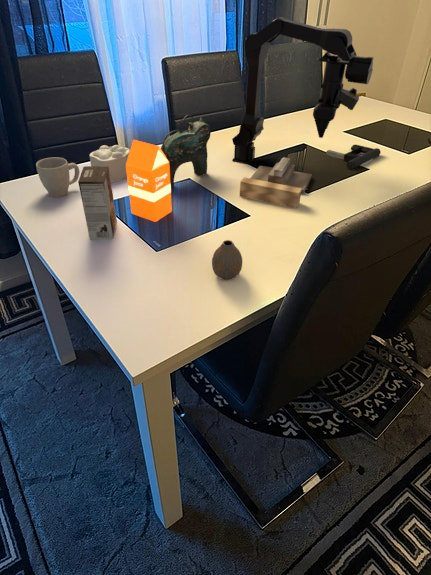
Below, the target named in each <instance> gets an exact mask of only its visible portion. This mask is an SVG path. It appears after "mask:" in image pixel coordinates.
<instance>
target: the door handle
mask: <svg viewBox="0 0 431 575" xmlns="http://www.w3.org/2000/svg"><path fill="white" fill-rule="evenodd" d="M350 150H351V151H349V152H347V153H343V152H340V151H335V150H331V149H328V150H326V152H325V155H327V156H330V157H333V158H336V159H338V160H342V161H343V162H346V168H347V169H349V170H351V169H355V168H358V167H359V166H360V167H362V166H364V165H366V164H369V163H370V162H372V161H373V160H374V159H375V158H377V157H380V156H381V154H382V151H381V149H380V148H378V147H377V148H373V147H368V146H364V145H359V144H353V145H352V146H351V147H350Z"/></svg>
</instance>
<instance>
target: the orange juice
mask: <svg viewBox="0 0 431 575" xmlns="http://www.w3.org/2000/svg"><path fill="white" fill-rule="evenodd" d="M129 150H130V153H129V156H128V160H127V163H126V171H127V177H126V179H127V188H128V195H129V203H130V211H131V212H130V213H131V214H132V215H135V216H137V217H140V218H142V219H146V220H148V221H151V222H155V223H156V222H158V221H160V220H161V219H163V218H164V217H166V216H167V215H169V214H170V213H172V210H173V209H172V206H173V205H172V187H171V183H170V167H169V161H168V160H167V158H166V156H165V155H164V153H163V152H162V150H161V146H160V145H156V144H152V143H148V142H144V141H140V140H136V139H132V143H131V147H130V148H129Z"/></svg>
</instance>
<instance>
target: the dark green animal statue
mask: <svg viewBox="0 0 431 575" xmlns="http://www.w3.org/2000/svg"><path fill="white" fill-rule="evenodd" d="M189 117H190V118H191V120H192V122H188V121H187V124H188V125H189V127H188V129H187V130H180V129H174V130H172V131H170V132H168V133H167V134H166V135H165V136H164V137H163V139H162V140H163V141H162V144H161V146H160V148H161V150H162V152H163V153H164V155H165V156H166V158H167V160H168V161H169V167H170V183H171V188H174V186H175V176H176V172H177V171H178V169H179V167H180V166H181V165H183V164H187V163H190V162H191V163H192V167H193V172H194V175H196V176H199V177H202V176H205V175H207V174H208V146H207V144H208V142H209V140H210V139H211V134H212V133H211V128H210V127H211V126H210V125H209V124H207V123H205V121H204V118H203V117H201V116H200V118H199V121H194V117H193V116H192V115H191V114H186V115H185V116H184V117H183V119H182V121H183V122H185V121H186V119H187V118H189ZM174 132H176V133H174ZM173 133H174V134H173ZM171 134H172V135H171Z"/></svg>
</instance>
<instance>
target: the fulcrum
mask: <svg viewBox="0 0 431 575" xmlns="http://www.w3.org/2000/svg"><path fill="white" fill-rule="evenodd" d="M290 162H291V158H289V157H285V156H284V157H282V158H280V161H279V162H276V163H275V164H274V166H273V167H272V166H271V167H270V166H265V165H264V166H263V165H259V166H258V167H257V169H256V170H255V171H254V173H253V174H252V175H251V177H250V178H251V179H256V180H261V181H266V182H272V183H277V184H282V185H287V186H292V187H298V188H302V190H301V195H304V194H305V192H306V190H307V189H308V186H309V185H310V182H311V180H312V177H313V174H312V173H309V172H308V173H307V172H300V171H296V170H295V166H296V165H295V164H291V163H290Z"/></svg>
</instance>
